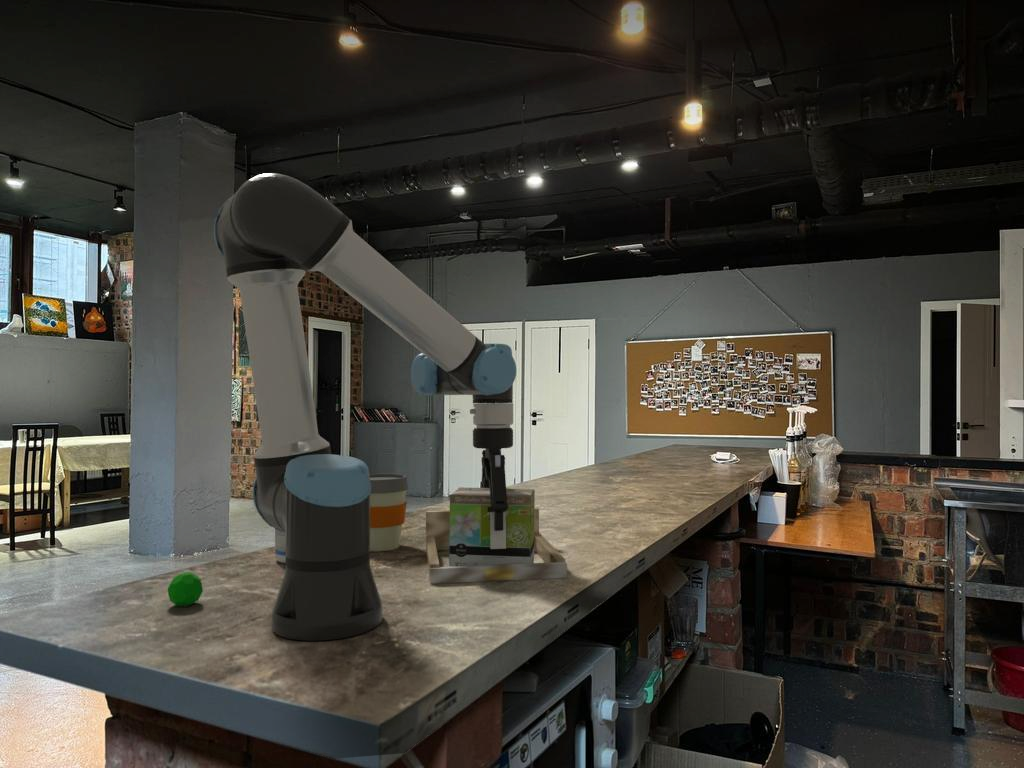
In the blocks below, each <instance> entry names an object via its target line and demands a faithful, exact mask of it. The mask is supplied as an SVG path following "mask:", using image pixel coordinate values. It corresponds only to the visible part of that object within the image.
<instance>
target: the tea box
mask: <svg viewBox="0 0 1024 768" xmlns="http://www.w3.org/2000/svg"><path fill="white" fill-rule="evenodd" d="M506 493H507V505H508V509H507V510H506V549H490V512H487V510H488V507H491V499H490V488H481V487H466V486H465V487H463V486H462V487H458V488H457V489H456V490H455V491H454V492H452V493H451V494H450V495H449V510H450V516H449V550H448V567H453V566H477V565H502V564H527V563H535V561H534V560H535V550H534V509H535V508H536V507H535V506H536V505H535V502H536V501H535V499H536V498H535V488H534V489H533V488H507V487H506Z"/></svg>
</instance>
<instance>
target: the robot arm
mask: <svg viewBox="0 0 1024 768" xmlns="http://www.w3.org/2000/svg"><path fill="white" fill-rule="evenodd" d="M213 236H214V243H215V245H216V248H217V251H218V252H219V254H220V255H221V256H222V258H223V259H224V265H225V271H226V278H227V281H228V282H229V283H231V285H233V286H234V287H236V288H237V289H238V290H239V294H240V300H241V308H242V315H243V322H244V329H245V336H246V342H247V349H248V356H249V363H250V370H251V377H252V383H253V389H254V397H255V403H256V411H257V418H258V424H259V425H258V426H259V431H260V437H261V444H260V446H259V447H258V449H256V451H255V452H254V453H253V460H254V461H253V462H254V468H255V469H254V470H255V475H256V477H255V479H254V482H253V486H252V499H253V500H252V501H253V504H254V507H255V509H256V512H257V513H258V515H259V516H260V517H261V519H262V520H263V521H264V522H265V523H266V524H268V526H270V528H274V530H275V529H276V530H278V531H281V532H285V556H286V563H284V564H285V567H284V568H285V569H284V575H283V578H282V580H281V585H280V588H279V590H278V594H277V595H276V600H275V602H274V606H273V608H272V609H273V610H272V613H271V629H272V632H273V633H274V634H275V635H277V636H279V637H283V638H286V639H290V640H297V641H328V640H329V641H331V640H338V639H343V638H349V637H353V636H357V635H361V634H363V633H367V632H369V631H372V630H373V629H375V628H377V627H378V626H380V624H381V623H382V621H383V603H382V600H381V599H382V598H381V596H380V593H379V590H378V587H377V584H376V581H375V578H374V575H373V572H372V569H371V551H370V491H371V483H370V478H369V474H370V471H369V466H368V465H367V463H365V461H363V460H362V459H359V458H357V457H353V456H348V455H345V456H343V455H340V454H332V451H331V445H330V442H329V441H327V440H326V439H325V438H323V437H322V436H320V434H319V429H318V422H317V414H316V410H315V401H314V395H313V387H312V380H311V373H310V367H309V360H308V359H309V358H308V352H307V351H308V350H307V346H306V339H305V338H306V337H305V332H304V325H303V316H302V310H301V304H300V303H301V302H300V295H299V288H298V285H299V284H300V282H301V280H302V279H303V278H304V277H305V275H306V270H307V271H308V272H320V273H322V274H323V275H324V276H326V278H328V279H329V280H330V281H332V282H333V283H335V284H336V286H338V287H339V288H340V289H342V290H343V292H344V291H345V293H346V294H348V295H349V296H350V297H351V298H353V299H354V300H355V301H357V302H358V303H360V304H361V306H363V307H364V308H365V309H367V310H368V311H369V312H370V313H371V314H373V315H374V316H376V317H377V318H378V319H380V320H381V321H382V322H383V323H385V324H386V325H387V326H388V327H390V328H391V329H392V330H393V331H395V332H396V333H397V334H398V335H399V336H401V337H402V338H403V339H405V340H406V341H407V342H408V343H410V344H411V345H412V346H413V347H415V348H416V349H417V350H418V351H420V352H421V353H418V354H417V355H416V356H415V357H414V359H413V360H412V365H411V369H410V373H411V374H410V375H411V377H410V379H411V384H412V386H413V388H414V390H415V392H416V393H418V394H419V395H423V396H424V395H425V396H426V395H428V396H433V397H435V396H466V395H467V396H472V407H473V408H470V409H469V413H470V415H473V416H472V424H473V425H474V426H476V427H474V428H473V429H472V446H473V447H474V448H475V449H483V450H482V451H481V455H482V456H481V484H480V488H490V499H491V507H488V510H487V512H490V549H506V510H507V509H508V505H507V493H506V488H507V483H506V457H505V455H504V454H502V449H510V448H512V447H513V446H514V429H513V427H511V425H513V424H514V403H513V402H514V401H513V399H514V398H513V395H514V394H513V393H514V390H513V389H514V388H513V387H514V382H515V379H516V376H517V363H516V361H515V358H514V357H513V351H512V347H511V346H510V345H508V344H507V343H505V344H504V343H484V342H483V341H482V340H481V339H479V338H478V337H477V336H476V335H474V334H473V333H472V332H471V331H470V330H469V329H468V328H467V327H465V326H464V325H463V324H462V323H461V322H460V321H458V320H457V319H456V318H455V317H454V316H453V315H451V314H450V313H449V312H448V311H447V310H446V309H444V308H443V307H442V306H441V305H440V304H438V302H436V301H435V300H434V299H433V298H432V297H431V296H429V294H427V293H426V292H424V290H422V288H420V287H419V286H417V285H416V284H415V283H414V282H413V281H412V280H410V279H409V278H408V277H407V276H406V275H405V274H404V273H403V272H401V271H400V270H399V269H398V268H397V267H395V265H393V264H392V263H390V261H389V260H387V258H385V256H383V255H381V253H379V252H378V251H377V250H375V248H373V247H372V246H371V245H370V244H368V243H367V241H365V239H363V238H362V237H361V236H359V235H358V234H357V233H356V232H355V231H354V230H353V221H352V219H351V218H349V217H348V216H347V215H345V213H343V212H342V211H341V210H340V209H339V208H338V207H337V206H335V205H334V204H333V203H332V202H330V201H329V200H328V199H327V198H326V197H324V196H323V195H321V194H320V193H319V192H318V191H316V189H313V188H312V187H310V186H309V185H308V184H306V183H304V182H302V181H301V180H299V179H296V178H294V177H292V176H289V175H286V174H281V173H277V172H270V173H269V172H268V173H262V174H257V175H255V176H254V177H251V178H250V179H248V180H246V181H245V182H244V183H243V184H242V185H241V186H240V187H239V188H238V190H237V191H236V192H235V193H234V194H233V195H232V196H231V197H229V198H228V199H226V201H224V203H223V204H222V206H220V208H219V209H218V212H217V214H216V217H215V220H214V225H213Z"/></svg>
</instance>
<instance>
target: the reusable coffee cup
mask: <svg viewBox="0 0 1024 768" xmlns="http://www.w3.org/2000/svg"><path fill="white" fill-rule="evenodd" d="M407 477H408V476H407V475H405V474H399V473H369V478H370V483H371V491H370V552H384V551H385V552H386V551H392V550H396V549H398V548H400V547H401V546H400V545H401V536H402V530H403V529H402V528H403V525H404V524H405V519H406V511H407V510H406V509H407V504H408V503H407V501H406V496H407V491H408V489H409V487H408V486H409V485H408V478H407Z"/></svg>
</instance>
